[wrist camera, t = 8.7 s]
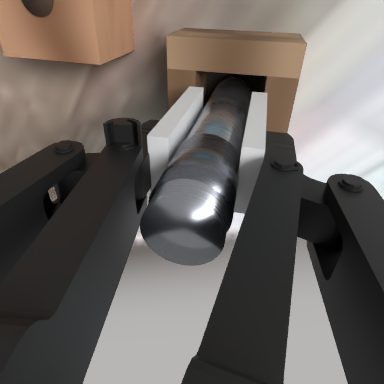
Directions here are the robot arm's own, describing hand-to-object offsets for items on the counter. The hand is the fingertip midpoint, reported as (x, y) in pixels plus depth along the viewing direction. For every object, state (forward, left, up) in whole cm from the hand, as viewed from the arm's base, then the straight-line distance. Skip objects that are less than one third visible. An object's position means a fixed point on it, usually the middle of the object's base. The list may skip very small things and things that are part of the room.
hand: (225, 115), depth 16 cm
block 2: (0, 0, -5) cm, 5 cm away
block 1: (-10, +5, -5) cm, 12 cm away
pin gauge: (0, 0, -4) cm, 4 cm away
